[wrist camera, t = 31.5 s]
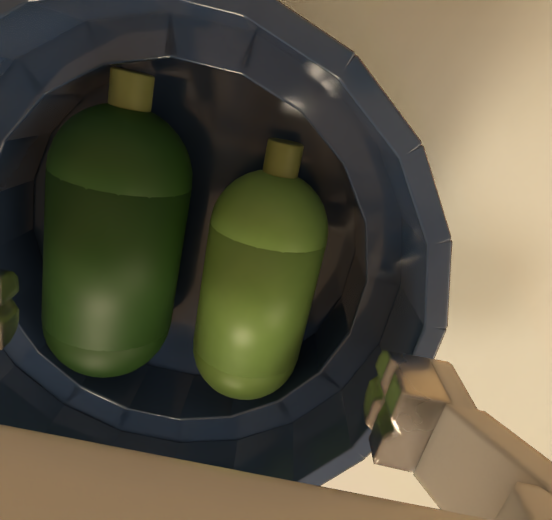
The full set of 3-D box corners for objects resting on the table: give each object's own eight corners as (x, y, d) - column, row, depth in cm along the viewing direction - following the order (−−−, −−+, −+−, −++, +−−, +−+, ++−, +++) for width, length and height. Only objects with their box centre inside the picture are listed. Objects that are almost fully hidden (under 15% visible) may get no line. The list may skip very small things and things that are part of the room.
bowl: (-4, -42, 14) (-207, -132, 8) (457, 72, 14) (562, 61, 9) (1, 356, 19) (-118, 465, 14) (335, 425, 20) (351, 555, 14)
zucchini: (118, 64, 15) (9, 43, 11) (230, 93, 14) (154, 81, 10) (97, 321, 18) (9, 373, 15) (184, 357, 17) (115, 423, 14)
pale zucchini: (195, 124, 13) (292, 155, 11) (282, 132, 16) (372, 158, 13) (166, 377, 16) (234, 442, 14) (241, 347, 19) (308, 396, 17)
